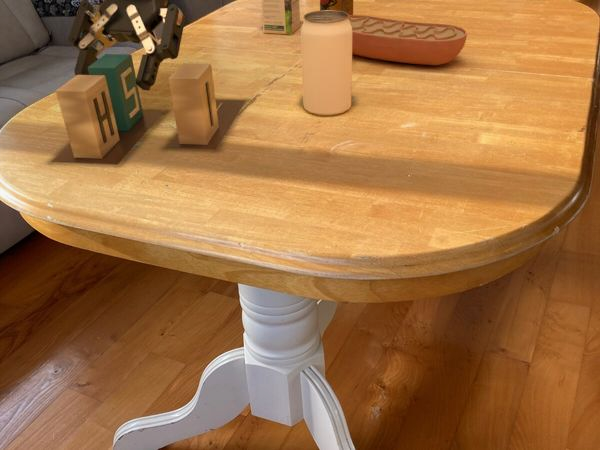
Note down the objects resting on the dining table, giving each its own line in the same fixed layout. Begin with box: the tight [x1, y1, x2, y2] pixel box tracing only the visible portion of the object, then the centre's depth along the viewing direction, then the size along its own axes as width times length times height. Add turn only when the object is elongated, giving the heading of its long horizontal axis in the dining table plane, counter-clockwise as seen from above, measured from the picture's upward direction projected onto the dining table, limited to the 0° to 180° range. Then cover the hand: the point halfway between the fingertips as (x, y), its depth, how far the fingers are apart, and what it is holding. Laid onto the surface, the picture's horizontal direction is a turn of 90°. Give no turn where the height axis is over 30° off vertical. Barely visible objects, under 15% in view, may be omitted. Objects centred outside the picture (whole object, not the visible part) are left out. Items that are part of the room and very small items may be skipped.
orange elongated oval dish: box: [348, 14, 468, 66], centre depth 93 cm, size 23×10×5 cm, turn 59°
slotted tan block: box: [166, 62, 247, 151], centre depth 71 cm, size 6×15×9 cm, turn 171°
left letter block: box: [51, 75, 165, 166], centre depth 69 cm, size 8×15×9 cm, turn 171°
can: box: [300, 10, 353, 117], centre depth 75 cm, size 6×6×12 cm
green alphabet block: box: [88, 53, 144, 131], centre depth 72 cm, size 4×5×8 cm
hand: (112, 84), depth 71 cm, fingers open, 8 cm apart
